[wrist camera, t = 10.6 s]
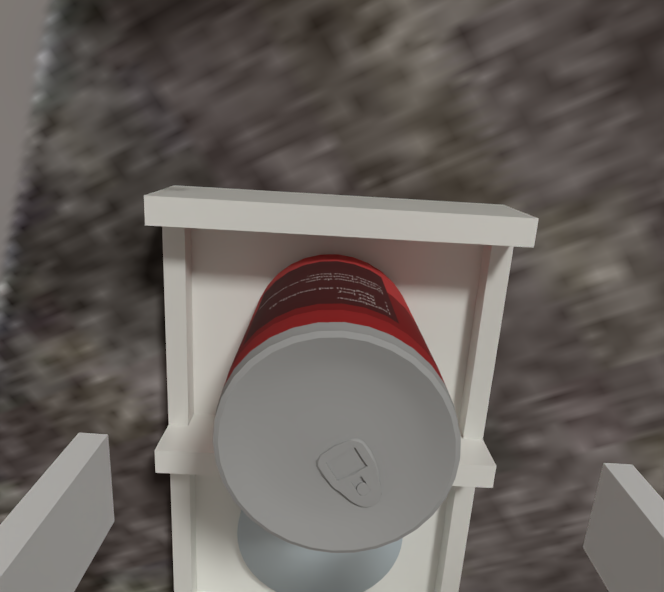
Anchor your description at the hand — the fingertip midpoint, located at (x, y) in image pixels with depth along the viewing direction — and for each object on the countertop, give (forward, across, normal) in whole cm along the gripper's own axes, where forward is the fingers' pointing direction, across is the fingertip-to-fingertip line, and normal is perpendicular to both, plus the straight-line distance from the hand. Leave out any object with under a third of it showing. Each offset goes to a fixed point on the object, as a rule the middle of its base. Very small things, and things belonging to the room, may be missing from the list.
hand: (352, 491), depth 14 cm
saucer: (+13, -1, -12) cm, 18 cm away
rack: (+14, -1, -6) cm, 15 cm away
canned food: (+13, -1, 0) cm, 13 cm away
